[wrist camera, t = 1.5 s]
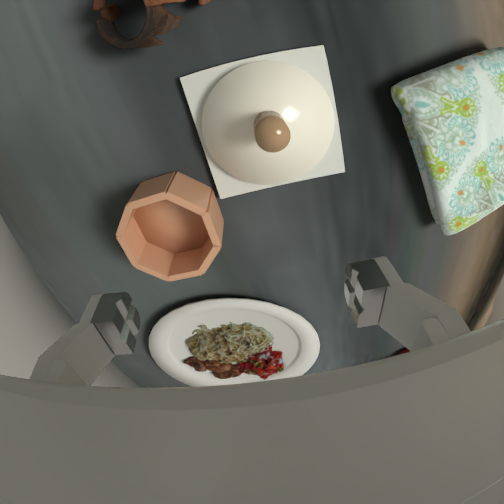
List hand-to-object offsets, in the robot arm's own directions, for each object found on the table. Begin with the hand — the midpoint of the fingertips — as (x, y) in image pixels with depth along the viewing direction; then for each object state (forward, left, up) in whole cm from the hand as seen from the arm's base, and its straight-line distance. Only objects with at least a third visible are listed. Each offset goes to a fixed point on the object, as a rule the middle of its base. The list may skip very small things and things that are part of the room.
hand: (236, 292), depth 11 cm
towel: (-28, +5, -23) cm, 37 cm away
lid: (-3, 0, -22) cm, 22 cm away
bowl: (+10, +8, -23) cm, 26 cm away
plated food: (+11, +36, -23) cm, 44 cm away
